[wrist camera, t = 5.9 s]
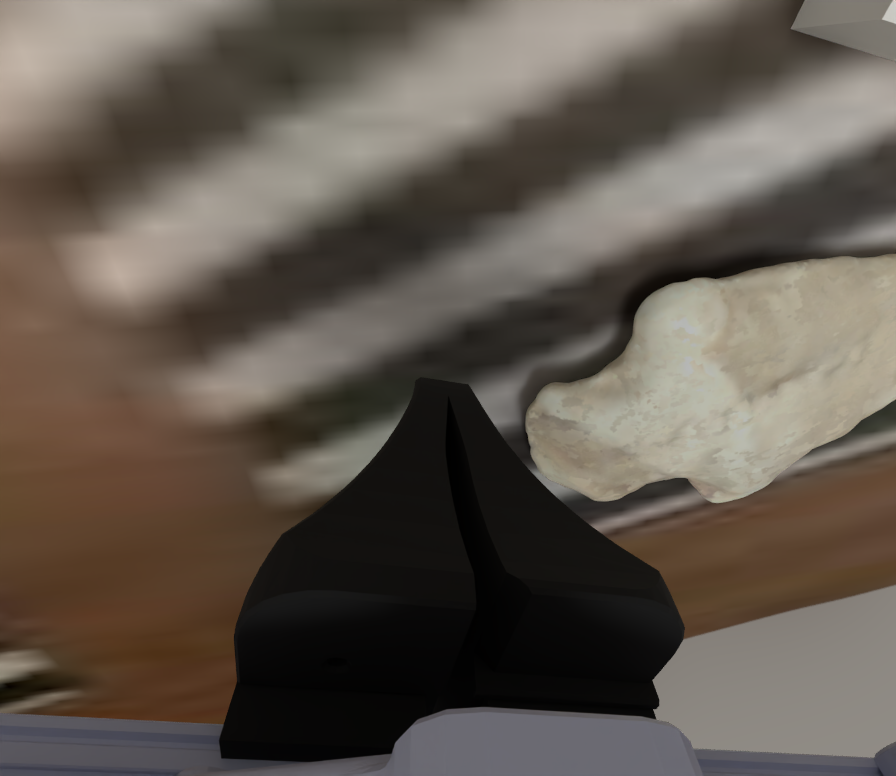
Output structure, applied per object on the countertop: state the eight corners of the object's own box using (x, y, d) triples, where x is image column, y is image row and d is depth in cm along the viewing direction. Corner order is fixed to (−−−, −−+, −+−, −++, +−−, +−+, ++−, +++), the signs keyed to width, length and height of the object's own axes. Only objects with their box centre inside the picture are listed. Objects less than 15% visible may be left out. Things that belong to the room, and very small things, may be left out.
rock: (475, 351, 23) (957, 120, 18) (572, 520, 29) (941, 383, 25) (484, 397, 19) (1070, 132, 15) (590, 574, 26) (1017, 429, 22)
